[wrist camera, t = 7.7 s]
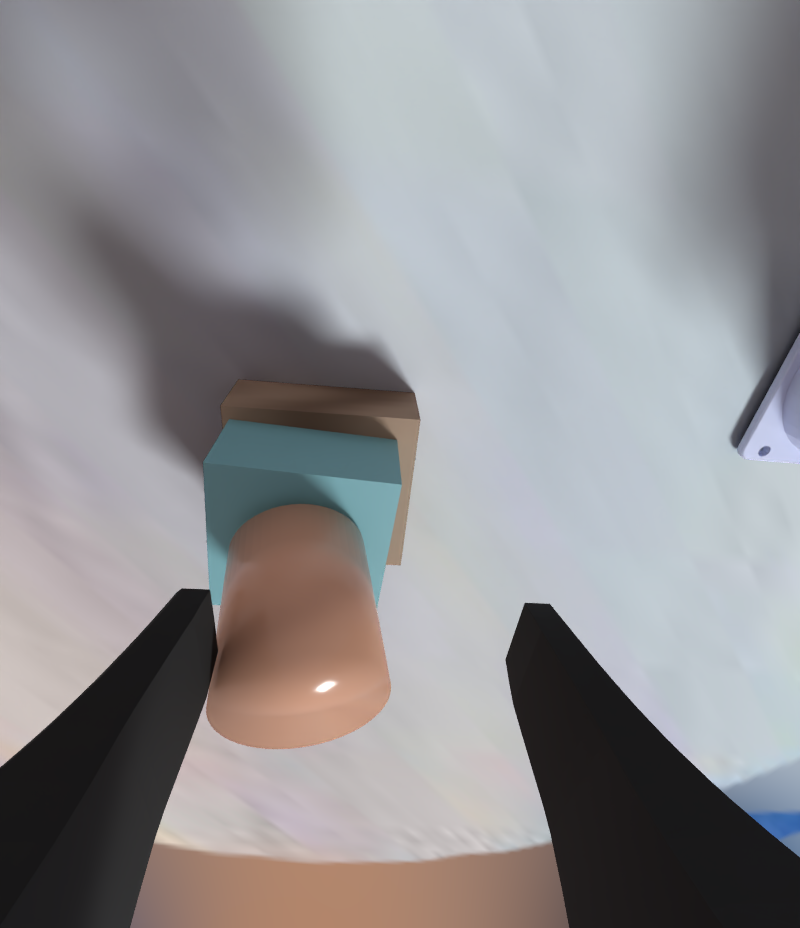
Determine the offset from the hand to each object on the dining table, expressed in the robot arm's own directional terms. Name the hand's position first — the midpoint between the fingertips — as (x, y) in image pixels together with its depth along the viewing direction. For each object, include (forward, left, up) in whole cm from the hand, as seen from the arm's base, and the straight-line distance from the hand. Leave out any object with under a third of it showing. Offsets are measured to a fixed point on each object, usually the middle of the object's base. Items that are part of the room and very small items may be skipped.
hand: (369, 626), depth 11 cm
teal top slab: (+2, +2, -8) cm, 8 cm away
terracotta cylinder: (+2, +2, -4) cm, 5 cm away
